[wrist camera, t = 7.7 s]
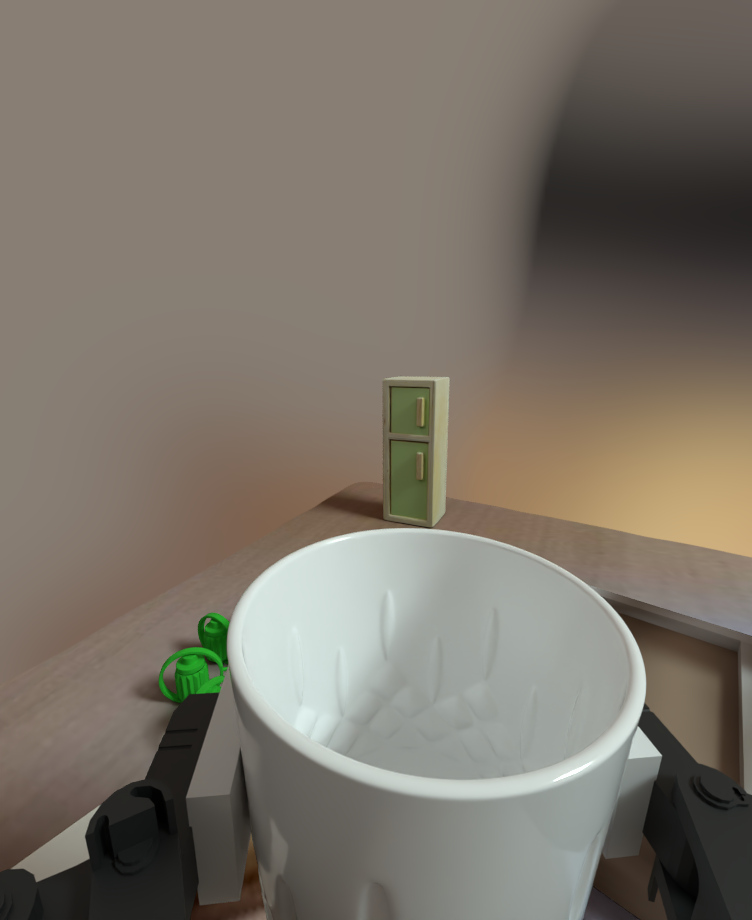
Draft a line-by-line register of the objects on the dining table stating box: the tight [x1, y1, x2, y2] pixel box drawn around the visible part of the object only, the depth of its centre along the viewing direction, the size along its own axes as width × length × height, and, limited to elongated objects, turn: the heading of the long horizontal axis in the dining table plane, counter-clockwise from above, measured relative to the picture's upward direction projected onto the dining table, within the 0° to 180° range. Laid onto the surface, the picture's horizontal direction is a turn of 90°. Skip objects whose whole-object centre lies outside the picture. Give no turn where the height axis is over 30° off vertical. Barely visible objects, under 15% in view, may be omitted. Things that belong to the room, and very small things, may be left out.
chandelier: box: [159, 613, 230, 703], centre depth 32 cm, size 15×15×7 cm
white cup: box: [227, 528, 646, 920], centre depth 10 cm, size 8×8×10 cm
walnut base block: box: [588, 585, 752, 920], centre depth 26 cm, size 14×14×8 cm
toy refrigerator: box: [383, 376, 449, 528], centre depth 62 cm, size 8×7×21 cm
